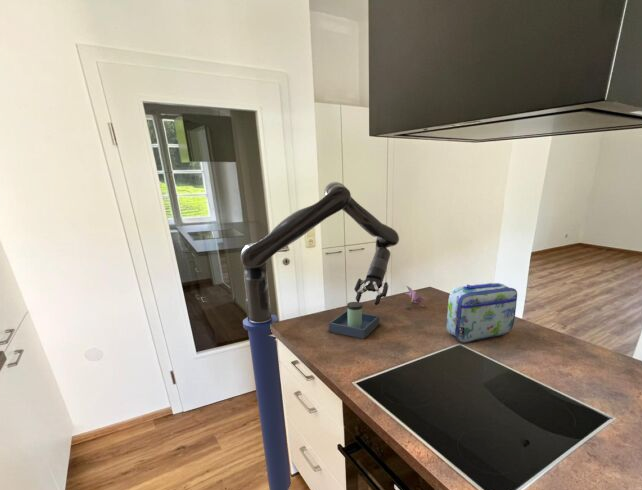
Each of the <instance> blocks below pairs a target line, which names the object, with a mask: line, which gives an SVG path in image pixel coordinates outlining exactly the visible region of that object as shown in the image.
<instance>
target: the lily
mask: <svg viewBox="0 0 642 490" xmlns="http://www.w3.org/2000/svg"><path fill="white" fill-rule="evenodd" d="M406 288H407V290H408V292H406V293H405V295H407V296H408V297H410V298H411V301H410V302H409V304H408V307H407V308H408V309H410V306H411V304H412V302H414V303H415V304H417V303H418V304H420V305H421V306H422V307H423V308H424V304H423V302H428V300H427V299H426V298H424V297H423V296H422V295H419V293H418V291H416V290H413V289H412V288H411V287H409V286H408V285H406Z"/></svg>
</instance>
